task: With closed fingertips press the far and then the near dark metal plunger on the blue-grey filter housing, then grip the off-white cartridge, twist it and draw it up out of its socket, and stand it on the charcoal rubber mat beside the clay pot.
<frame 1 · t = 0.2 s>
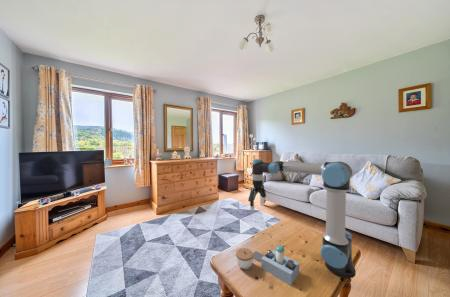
hand: (257, 208, 122), 27 cm above the table, fingers open, 13 cm apart
lidded jar: (244, 265, 101), on the table
filter housing: (279, 270, 97), on the table
cartridge: (279, 266, 97), point 2 cm above the table, touching filter housing
mat: (257, 256, 109), on the table
plunger near: (290, 265, 92), point 6 cm above the table, slide at 0.0 cm
plunger far: (269, 255, 101), point 6 cm above the table, slide at 0.0 cm
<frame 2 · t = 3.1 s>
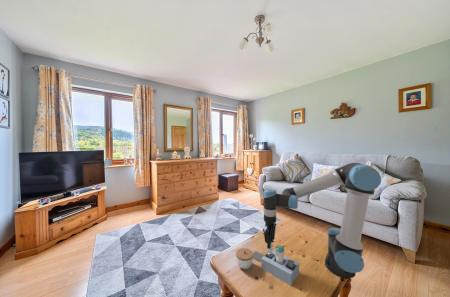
hand: (269, 252, 101), 8 cm above the table, fingers closed
plunger far: (269, 256, 101), point 5 cm above the table, slide at 1.0 cm, touching gripper
everything else where it was.
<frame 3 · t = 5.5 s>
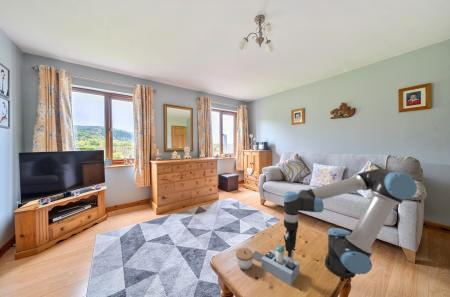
hand: (290, 261, 92), 8 cm above the table, fingers closed
plunger near: (290, 266, 92), point 6 cm above the table, slide at 0.3 cm, touching gripper
plunger far: (269, 256, 101), point 5 cm above the table, slide at 1.0 cm
everything else where it was.
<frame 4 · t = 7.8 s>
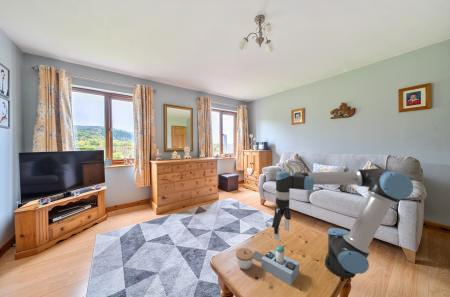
hand: (281, 234, 95), 22 cm above the table, fingers open, 13 cm apart
plunger near: (290, 267, 92), point 5 cm above the table, slide at 1.1 cm
everything else where it was.
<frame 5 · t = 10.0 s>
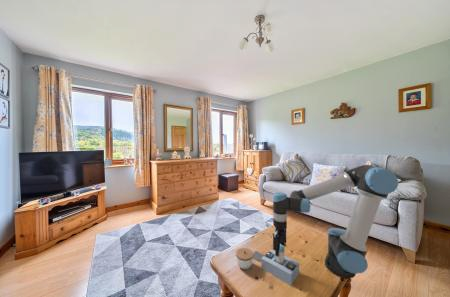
hand: (279, 258, 97), 7 cm above the table, fingers closed on cartridge, 5 cm apart
cartridge: (279, 266, 97), point 3 cm above the table, touching filter housing, gripper
everything else where it was.
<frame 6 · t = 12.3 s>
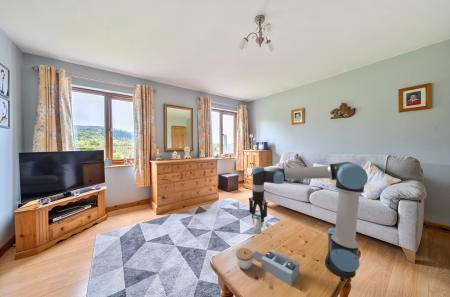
hand: (257, 225, 109), 21 cm above the table, fingers closed on cartridge, 5 cm apart
cartridge: (257, 232, 109), point 16 cm above the table, touching gripper
everything else where it was.
when the fingers open (7 cm above the table, at t = 14.8 s): cartridge drops 2 cm, resting on mat.
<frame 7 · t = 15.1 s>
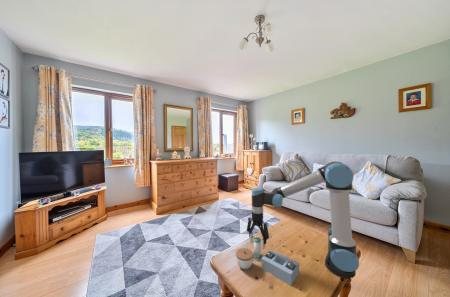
hand: (257, 245, 109), 7 cm above the table, fingers open, 9 cm apart
cartridge: (257, 255, 109), resting on mat
everything else where it was.
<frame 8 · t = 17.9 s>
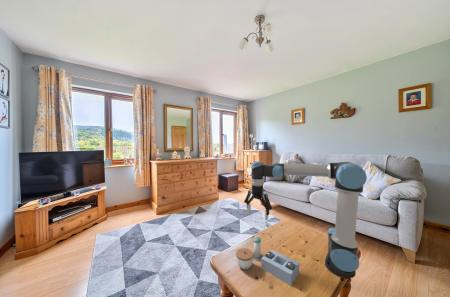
hand: (257, 216, 109), 27 cm above the table, fingers open, 13 cm apart
nothing on the table moved.
at the end: cartridge inside the target area on the mat (0.0 cm from its centre), point 0.4 cm above the mat's base; cartridge tilted 1°; plunger near slide at 1.1 cm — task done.
